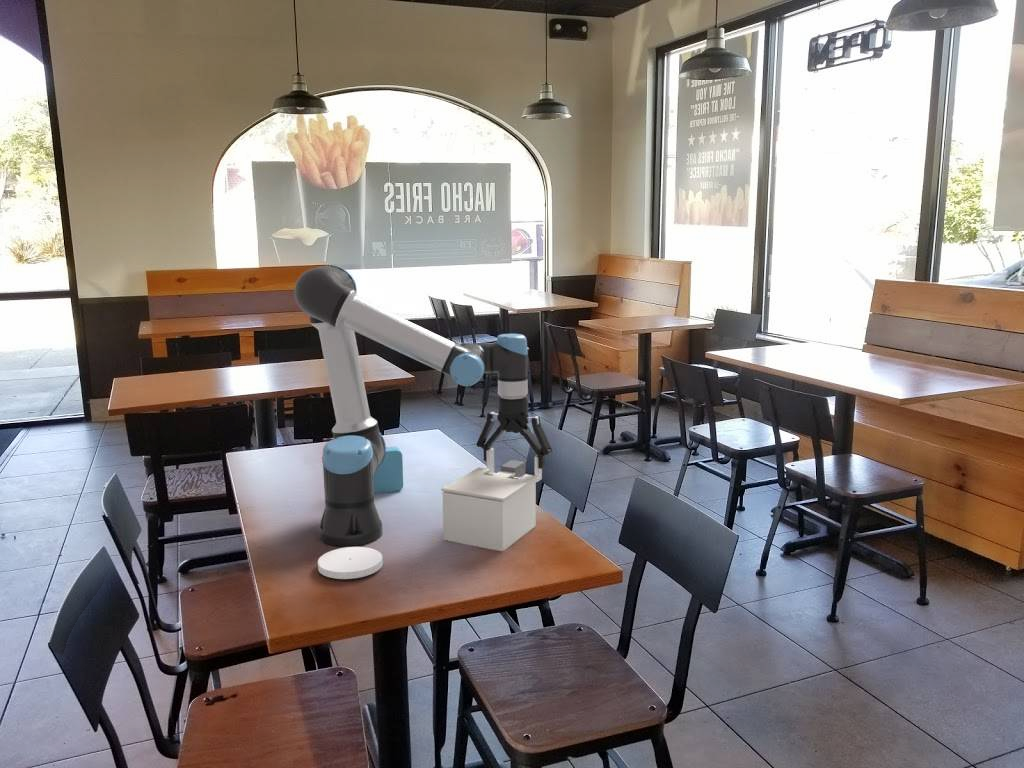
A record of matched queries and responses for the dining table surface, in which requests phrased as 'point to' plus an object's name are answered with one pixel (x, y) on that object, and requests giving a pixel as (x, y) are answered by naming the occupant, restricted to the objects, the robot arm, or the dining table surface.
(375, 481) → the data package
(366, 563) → the plastic lid
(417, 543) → the dining table surface
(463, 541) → the carton
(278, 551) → the dining table surface
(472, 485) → the carton flap
